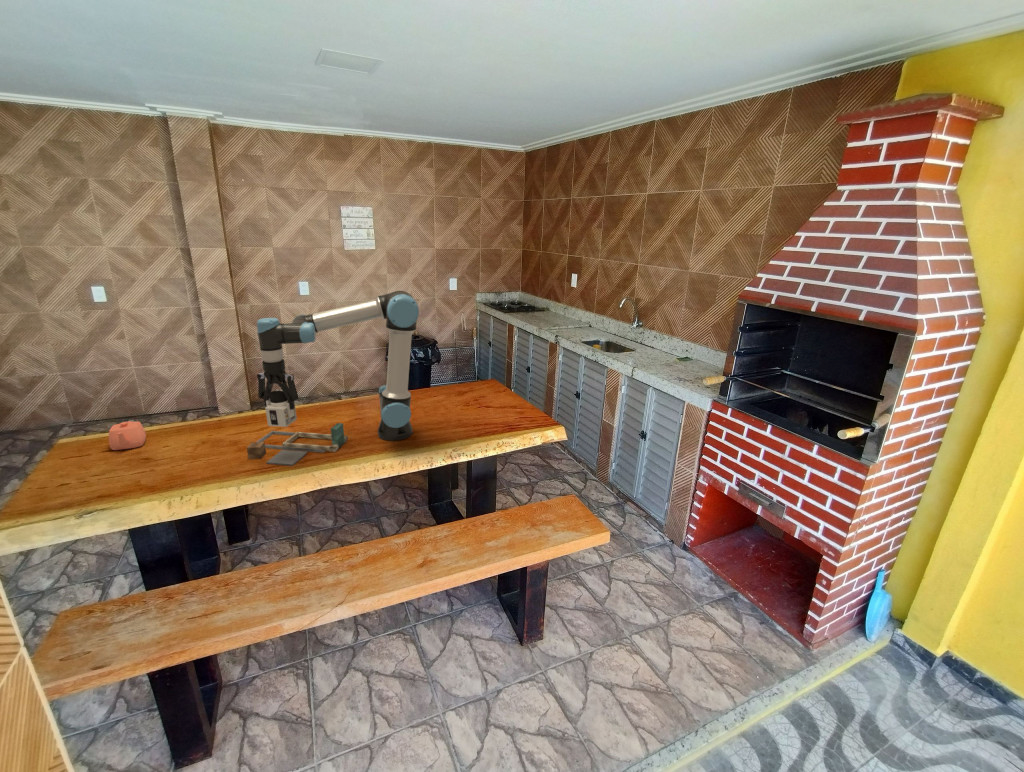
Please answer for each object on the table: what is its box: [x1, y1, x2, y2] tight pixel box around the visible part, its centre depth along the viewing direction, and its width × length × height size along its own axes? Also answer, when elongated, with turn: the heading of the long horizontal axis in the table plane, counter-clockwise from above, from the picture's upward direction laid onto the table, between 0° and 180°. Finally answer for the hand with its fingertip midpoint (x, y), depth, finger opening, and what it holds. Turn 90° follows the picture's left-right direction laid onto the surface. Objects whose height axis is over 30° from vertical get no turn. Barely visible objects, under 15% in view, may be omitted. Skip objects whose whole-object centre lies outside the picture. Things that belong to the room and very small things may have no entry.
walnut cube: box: [246, 441, 267, 460], centre depth 198 cm, size 5×5×5 cm
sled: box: [281, 422, 349, 453], centre depth 208 cm, size 23×12×9 cm, turn 82°
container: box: [264, 389, 298, 428], centre depth 191 cm, size 8×8×13 cm
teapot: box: [108, 420, 147, 451], centre depth 203 cm, size 12×18×10 cm, turn 25°
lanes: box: [255, 430, 326, 454], centre depth 211 cm, size 32×14×1 cm, turn 82°
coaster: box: [266, 449, 308, 467], centre depth 197 cm, size 11×11×1 cm
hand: (281, 416), depth 191 cm, fingers closed on container, 8 cm apart
